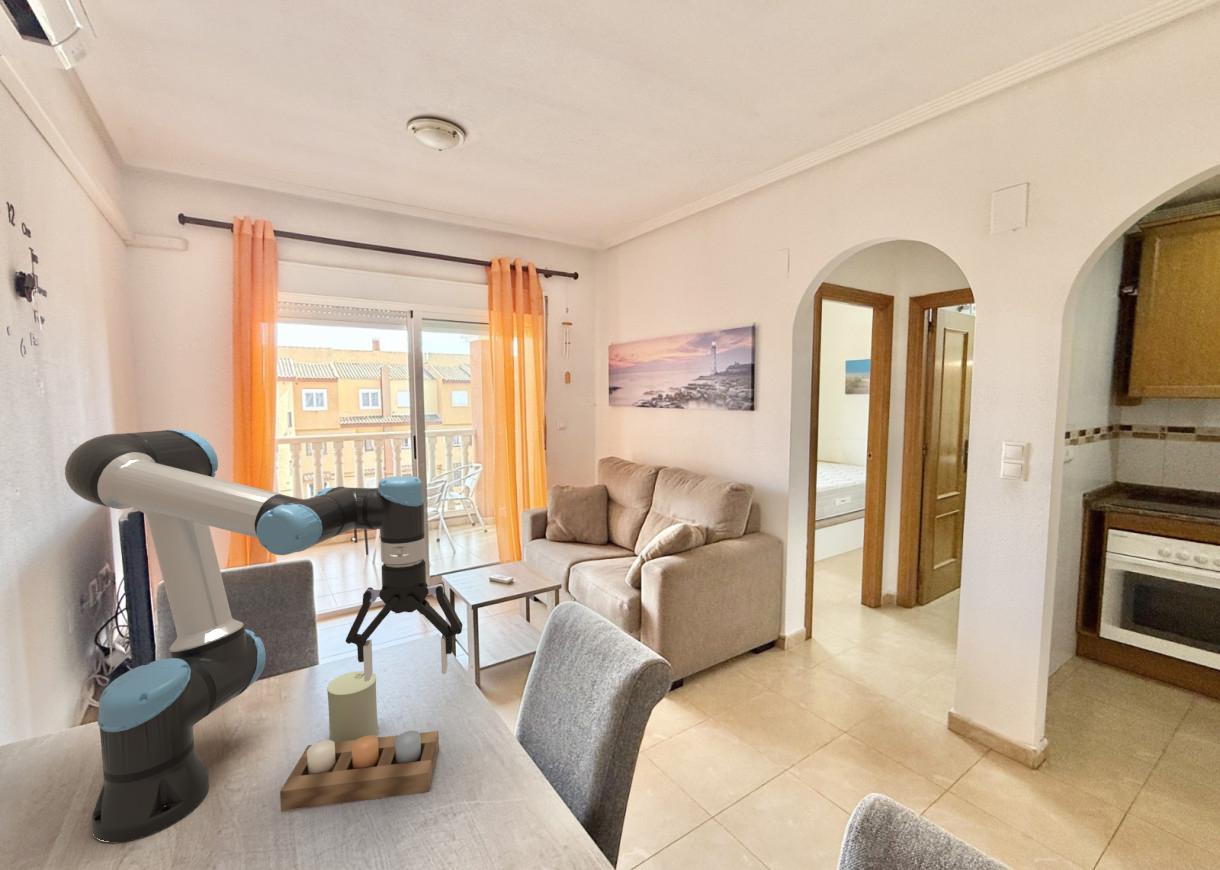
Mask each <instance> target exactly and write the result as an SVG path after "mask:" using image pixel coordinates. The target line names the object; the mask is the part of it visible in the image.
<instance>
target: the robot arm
mask: <svg viewBox="0 0 1220 870" xmlns="http://www.w3.org/2000/svg"><path fill="white" fill-rule="evenodd" d="M218 468H219V459H218V456H217V453H216V451H215V449H214V447H213V446H212V444H211V443H210V442H209V441H208V440H207V439H206V438H205V437H203V436H200V434H198V433H196V432H193V431H190V430H174V429H167V430H166V429H165V430H153V431H152V430H151V431H140V432H139V431H138V432H126V433H109V434H103V435H100V436H96V437H94V438H91V439H88V440H86V441H84V442H83V443H81V444H80V445H79V446H77V447H76V448H75V449H74V450H73V451H72V453H70V456H69V457H68V459H67V461H66V464H65V467H64V476H65V480H66V483H67V484H68V486H69V488H70V489H71V490H72V491H73V493H75V494H76V495H77V496H79V497H80V498H82V499H84V500H85V501H88V502H90V503H92V504H96V505H100V506H103V507H107V508H111V509H115V510H126V509H130V508H133V509H134V510H136V511H139V512H140V513H142V514H145V516H146V518H147V521H148V525H149V526H148V527H149V531H150V534H151V538H152V543H153V546H154V549H155V554H156V557H157V561H158V565H159V568H160V572H161V573H160V574H161V577H162V581H163V584H164V589H165V591H166V597H167V600H168V604H169V608H170V611H171V617H172V620H173V624H174V628H175V632H176V635H177V636H176V639H175V641H173V643H172V644H171V646H170V647H169V652H170V656H171V657H170V658H162V659H159V660H154V661H151V662H150V663H148V664H145V665H144V664H142V665H139V666H136V667H134V668H133V669H132V668H131V669H130V670H128V671H126V672H125V673H123V674H121V675H120V676H118V677H117V678H115V679H114V680H112V682H110V683H108V685H107V687H105V689H104V690H103V691H102V693H101V694H100V698H99V700H98V701H99V702H98V714H97V725H98V727H99V734H100V746H101V747H100V748H101V758H102V759H101V760H102V771H103V782H102V785H101V787H100V790H99V794H98V796H97V800H96V803H95V806H94V808H93V812H92V815H91V832H93V833H92V835H93V834H94V836H95V837H96V838H98V839H100V840H104V841H109V842H118V843H123V842H124V843H125V842H130V841H134V840H138V839H141V838H145V837H147V836H150V835H152V834H154V833H158V832H160V831H161V830H163V829H165V828H167V827H170V826H172V825H173V824H175V823H176V822H179V820H181V819H183V818H185V817H186V816H187V815H188V814H190V813H191V812H193V810H195V809H196V808H197V807H198V806H199V805H200V804H201V803H202V801H203V800H204V799H205V798H206V796H207V795H208V792H209V789H210V777H209V772H208V770H207V768H206V767H205V765H204V763H203V760H202V759H201V758H200V757H201V756H199V754H198V752H197V750H196V748H195V741H194V740H195V739H194V726H195V725H196V724H197V723H199V722H200V721H202V720H203V719H205V718H206V717H208V716H209V715H211V714H212V713H213V712H215V711H216V710H217V709H219V708H221V707H222V706H224V705H225V704H227V703H228V702H229V701H231V700H233V699H235V698H236V697H238V696H240V695H241V694H243V693H244V692H245V691H246V690H247V689H248V688H249V687H250V686H252V685H253V684H254V683H255V682H256V681H257V680H258V679H259V677H260V676H261V675H262V673H263V671H264V668H265V665H266V657H267V656H266V654H267V653H266V649H265V645H264V643H263V641H262V639H261V638H260V636H256V633H255V632H254V631H252V630H250V629H246V628H245V626H244V623H243V622H242V621H240V620H237V619H234V617H233V616H232V612H231V609H230V608H231V607H230V605H229V601H228V596H227V593H226V588H225V584H224V581H223V576H222V573H221V568H220V565H219V562H218V561H219V560H218V557H217V553H216V549H215V544H214V540H213V537H212V533H211V528H210V527H212V528H217V529H220V530H225V531H229V532H233V533H236V534H241V535H245V536H249V537H252V538H256V539H257V540H258V542H259V543H260V545H261V546H262V547H264V549H266V550H267V551H268V552H269V553H271V554H273V555H278V556H286V555H290V554H294V553H300V552H303V551H305V550H307V549H309V548H311V547H315V545H318V544H320V543H323V542H326V541H327V540H329V539H333V538H335V537H337V536H340V535H342V534H344V533H347V532H349V531H352V530H379V534H380V535H379V536H380V560H381V563H383V564H382V565H381V589H374V588H373V587H368V588H367V589H366V590H365V592H364V593H363V594H362V603H361V606H360V609H359V611H358V612H357V614H356V617H355V620H354V622H353V623H352V626H351V627H350V630H349V631H348V634H347V636H346V638H345V643H346V644H349V645H350V644H354V645H356V647H357V649H356V651H357V661H358V663H363V671H364V681H369V680H370V678H371V676H372V674H373V673H374V671H373V647H372V646H373V645H372V644H373V642H372V639H370V637H371V635H372V634H373V633H374V632H375V630H377V628H378V626H379V625H380V624H381V623H382V621H383V620H385V618H386V617H387V616H388V615H389V613H390V612H392V613H394V614H402V613H414V612H415V611H417V612H418V613H420V615H423V616H424V617H425V618H426V619H427V620H428V621H429V622H430V623H431V624H432V626H434V628H435V629H437V630H438V632H439V633H441V634H442V635H441V637H440V638H441V639H440V651H441V652H440V653H441V656H440V657H441V659H440V660H441V675H443V674H447V670H448V664H449V663H448V655H451V654H452V653H453V649H454V636H455V635H460V634H461V633H462V630H463V623H462V622H461V619H460V618H459V616H458V614H457V612H456V610H455V609H454V606H453V605H452V604H451V601H450V600H449V598H448V596H447V595H446V590H445V589H446V588H445V584H444V583H443V582H439V583H437V584H436V585H431V586H429V585H428V583H427V571H426V569H427V568H426V567H427V566H426V560H425V557H426V537H425V497H424V488H423V487H424V486H423V482H422V480H421V478H419V477H417V476H413V475H412V476H411V475H409V476H408V475H403V476H397V475H396V476H389V477H384V478H382V479H380V480H379V482H378V487H375V488H374V487H373V488H372V487H346V486H337V487H336V486H335V487H325V488H322V489H320V490H319V491H318V493H317V494H315V495H314V496H313V497H309V498H298V497H294V496H290V495H285V494H282V493H278V492H273V491H270V490H266V489H262V488H258V487H255V486H254V487H253V486H250V485H245V484H241V483H238V482H235V481H234V482H233V481H230V480H225V479H222V478H217V477H216V471H218ZM429 594H430V595H432V597H433V598H434V599H436V600H437V601H436V602H437V603H438V605H439V606H440V608H441V611H442V612H443V614H444V616H445V618H446V619H447V620H448V622H447V621H446V619H444V618H443V617H442V616H441V614H440V613H438V612H437V611H436V610H435V609H434V608H433V607H432V605H431V604H430V602H429V601H428V600H427V599H426V598H427V596H428V595H429ZM377 598H380V600H381V601H382V602H383V603H384V604H385V605H384V606H383V607H382V608H381V610H380V611H379V612H378V613H377V614H376V616H375V617H374V618H373V620H372V621H371V622H370V623H369V625H368V626H367V627H366V629H364V631H363V632H362V633H361V634H360V633H359V631H360V629H361V627H362V624H363V622H364V620H365V619H366V616H367V613H368V612H369V610H370V607H371V606H372V603H373V604H374V602H375V601H377ZM94 836H93V837H94ZM95 837H94V838H95ZM96 838H95V839H96Z"/></svg>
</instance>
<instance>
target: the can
mask: <svg viewBox="0 0 1220 870" xmlns="http://www.w3.org/2000/svg"><path fill="white" fill-rule="evenodd" d="M326 691H327V701H328V702H327V703H328V722H329V727H328V728H329V739H328V740H331V741H333V742H343V741H352V740H357V739H359V738H361V737H364V736H368V735H373V736H376V737H377V735H378V733H379V725H378V708H377V707H378V706H377V703H378V702H377V675H376V674H375V673H374V672H373V674H372V676H371V678H370V680H369V681H364V670H359V671H358V670H356V671H351V672H348V673H345V674H342V675H340V676H337V677H336V678H334V679H333V680H331V681H330V682H329V683H328V685H327V687H326Z"/></svg>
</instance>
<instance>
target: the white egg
mask: <svg viewBox="0 0 1220 870" xmlns="http://www.w3.org/2000/svg"><path fill="white" fill-rule="evenodd" d="M311 745H312V746H311V747H309V749H308V750H307V761H308V775H310V774H319V773H327V772H332V771H333V769H334V767H335V765H336V761H335V743H334V742H333V741H331V740H329V739H325V740H324V739H323V740H321V741H317V742H315V743H313V744H311Z"/></svg>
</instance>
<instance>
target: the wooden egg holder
mask: <svg viewBox="0 0 1220 870" xmlns="http://www.w3.org/2000/svg"><path fill="white" fill-rule="evenodd" d="M419 733H420V737H421V761H418V762H410V763H401V764H396V750H395V739H396V738H397V737H398V736H399V735H400V734H398V735H397V734H396V735H389V736H388V735H387V736H379V737H378V736H377V738H378V749H379V762H378V765H377V767H368V768H360V769H353V764H352V744H353V743H354V742H355V741H356V740H352V741H343V742H334V743H335V761H336V765H335V767H334V769H333V771H332V772H327V773H319V774H310V775H308V761H307V750H308V749H309V747H311V746H312V745H313V744H309V745H307V747H306V748H304V751H303V752H302V754H301V756H300V758H299V759H298V761H297V763H296V764H295V766H294V768H293V769H292V771H291V772H290V774H289V776H288V778H287V779H286V780H285V783H284V784H283V786H282V787H281V789H280V791H279V797H280V799H279V801H280V811H281V812H283V811H284V812H285V811H291V810H298V809H299V810H300V809H307V808H313V807H322V806H328V805H329V806H331V805H337V804H344V803H351V802H353V803H354V802H359V801H367V800H368V801H369V800H376V799H382V798H383V799H384V798H391V797H398V796H399V797H400V796H405V795H413V794H422V793H429V791H430V789H431V784H432V779H433V775H434V770H435V766H436V762H437V759H438V758H437V757H438V754H439V748H440V742H439V741H440V740H439V739H440V737H439V735H440V734H439V730H434V731H433V730H432V731H425V732H424V731H423V732H419Z"/></svg>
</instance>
